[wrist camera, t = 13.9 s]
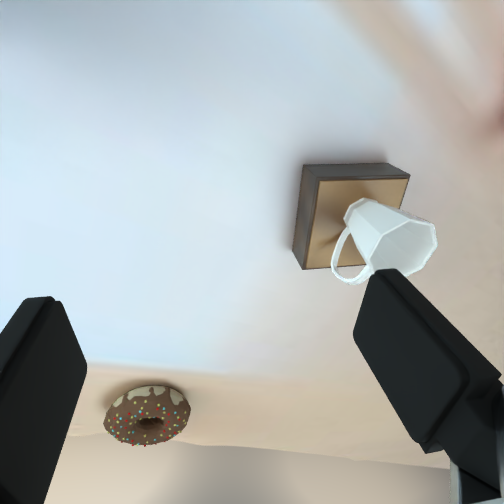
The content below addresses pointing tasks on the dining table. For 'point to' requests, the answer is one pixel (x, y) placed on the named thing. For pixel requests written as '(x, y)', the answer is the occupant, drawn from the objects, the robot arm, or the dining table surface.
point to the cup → (385, 239)
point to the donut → (147, 415)
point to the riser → (339, 208)
